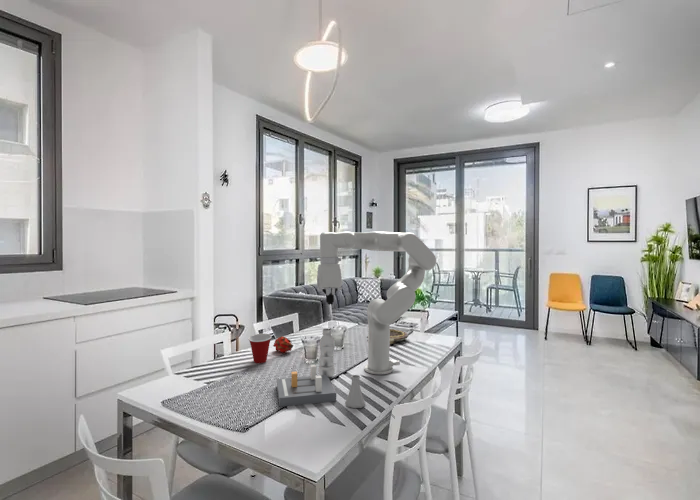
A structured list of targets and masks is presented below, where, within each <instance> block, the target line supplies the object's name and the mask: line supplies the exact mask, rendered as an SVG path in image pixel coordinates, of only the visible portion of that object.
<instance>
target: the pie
mask: <svg viewBox="0 0 700 500" xmlns="http://www.w3.org/2000/svg"><path fill="white" fill-rule="evenodd" d="M366 337H367V338H368V335H367V336H366ZM408 337H409V334H408V333H407V332H406V331H404V330H398V329H394V328H390V345H392V344H396V343H401V342H404V341H406V339H407V338H408Z"/></svg>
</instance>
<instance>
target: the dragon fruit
mask: <svg viewBox="0 0 700 500" xmlns="http://www.w3.org/2000/svg"><path fill="white" fill-rule="evenodd" d="M272 346H273V347H274V348H275V351H276V352H277V353H278V352H281V354H283V355H284V354H285V355H286V354H287V352H291V350H292V349H293V347H294V344H293V343H292V341H291V340H290V339H289V338H288V337H286V336H283V335H282V336H278V337H277V338H276V339H275V340H274V343H273V344H272ZM292 351H293V350H292Z"/></svg>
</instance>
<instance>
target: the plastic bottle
mask: <svg viewBox="0 0 700 500" xmlns="http://www.w3.org/2000/svg"><path fill="white" fill-rule="evenodd" d="M332 334H333V332H332V329H331V328H323V329H322V336H321V337H320V339H319V344H318V345H319V353H320V355H319V356H320V359H319V360H320V361H319V366H318V367H319V368H318V376H319V375H327V376H328V378H329V379H330V378H332V377H333V376H334V375H335V370H336V369H335V363H334V353H335V352H334V351H335V345H336V341H335V338H334V337H333V336H332Z"/></svg>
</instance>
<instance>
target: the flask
mask: <svg viewBox="0 0 700 500" xmlns="http://www.w3.org/2000/svg"><path fill="white" fill-rule="evenodd" d="M350 377H351V384H350V389H349V391H348V395H347V396H346V400H345V401H344V402H345V407H348V408H350V409H351V408H352V409H362V408H363V407H365V405H366V402H365V399H364V395H363V392H362V389H361V385H360V379H361V376H360V375H359V374H352V375H351V376H350Z"/></svg>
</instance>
